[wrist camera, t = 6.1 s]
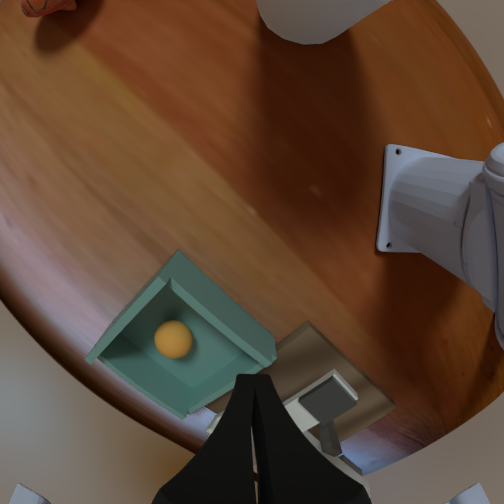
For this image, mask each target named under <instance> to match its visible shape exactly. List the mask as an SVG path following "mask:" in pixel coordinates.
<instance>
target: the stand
mask: <svg viewBox="0 0 504 504" xmlns="http://www.w3.org/2000/svg"><path fill="white" fill-rule="evenodd" d="M275 348H276V355H277V359H276V360H275V361H273V362H272V364H271V365H269V366H268V367H264V368H263V369H262V370H260V371H259V372H257V373H256V374H269V375H270V376H271V379H272V382H273V384H274V387H275V389H276V391H277V393H278V395H279V397H280V399H281V401H282V402H284V401H286V400H287V399H289V398H291V397H292V396H294V395H295V394H297V393H299V392H300V391H302V390H303V389H305V388H306V387H308V386H309V385H311V384H312V383H314V382H315V381H317V380H318V379H320V378H321V377H323V376H324V375H326V374H327V373H329V372H330V371H331V370H333V369H335V370H336V371H337V372H338V373H339V374H340V375H341V376H342V377H343V378H344V380H345V381H346V382H347V383H348V384H349V385H350V386H351V387H352V388H353V389H354V391H355V392H356V393H357V395H358V399H357V400H356V403H357V405H356V406H354V407H353V408H351V409H350V410H348V411H346V412H345V413H343V414H342V415H340V416H338V417H337V418H335V419H333V420H332V421H330V422H328V423H327V424H325V425H322V424H321V423H319V424H317V425H315V426H313V427H311V428H310V429H308V430H307V431H308V432H309V433H311V434H312V435H313V436H314V437H315V438H316V439H317V440H318V441H320V442H321V443H322V446H323V451H324V453H326V454H328V455H331V456H333V457H336V456H338V455H339V454H341V453H342V450H341V446H340V442H341V441H343V440H345V439H347V438H349V437H350V436H352V435H354V434H356V433H357V432H359V431H361V430H362V429H364V428H366V427H367V426H369V425H370V424H372V423H374V422H375V421H377V420H378V419H380V418H381V417H383V416H384V415H386V414H387V413H389V412H390V411H392V410H393V409H395V408H396V405H395V403H394V401H393V400H392V399H390V398H389V397H388V396H387V395H386V394H385V393H384V392H383V391H382V390H381V389H380V388H379V387H378V386H377V385H376V384H374V383H373V382H372V381H371V380H370V379H369V378H368V377H367V376H366V375H365V374H364V373H363V372H362V371H361V370H360V369H359V368H357V367H356V366H355V365H354V364H353V363H352V362H351V361H350V360H349V359H348V358H347V357H346V356H345V355H344V354H343V353H342V352H341V351H339V350H338V349H337V348H336V347H335V346H334V345H333V344H332V343H331V342H330V341H329V340H328V339H327V338H326V337H325V336H324V335H323V334H322V333H321V332H320V331H318V330H317V329H316V328H315V327H314V326H313V325H312V324H311V323H310V322H309V321H306V322H305V323H304V324H303V325H301V326H300V327H299V328H297V329H296V330H295V331H294V332H292V333H291V334H290V335H288V336H287V337H286V338H284V339H283V340H282V341H280V342H279V343H278V344H276V345H275ZM233 389H234V388H233ZM233 389H231V390H230V391H228V392H226V393H225V394H223V395H222V396H220V397H218V398H217V399H215V400H213V401H212V402H210V403H208V404H207V405H205V407H206V408H208V409H210V410H211V411H213V412H215V413H216V414H219V413H221V412H222V411H224V410H225V409H226V406H227V404H228V402H229V399H230V397H231V394H232V392H233Z"/></svg>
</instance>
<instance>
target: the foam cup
mask: <svg viewBox="0 0 504 504" xmlns="http://www.w3.org/2000/svg"><path fill="white" fill-rule="evenodd" d="M389 1H391V0H256V2H257V6H258V11H259V12H260V16H261V18H262V19H263V21H264V23H265V24H266V26H267V28H268V29H270V30H271V31H273V32H274V33H276V34H277V35H279V36H280V37H281V38H283V39H285V40H289V41H292V42H296V43H299V44H303V45H305V44H323V43H325V42H327V41H329V40H331V39H333V38H335V37H337V36H338V35H340V34H341V33H343V32H344V31H346V30H347V29H348V28H350V27H351V26H353V25H354V24H355V23H357V22H358V21H360V20H361V19H363V18H364V17H366V16H367V15H369V14H370V13H372V12H373V11H375V10H377V9H378V8H380V7H381V6H383V5H384V4H386V3H388V2H389Z"/></svg>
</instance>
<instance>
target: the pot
mask: <svg viewBox="0 0 504 504" xmlns="http://www.w3.org/2000/svg"><path fill="white" fill-rule="evenodd" d="M76 7H77V4H76V3H75V0H21V8H22V11H23V13H24V14H25V15H26V16H27V17H39V16H43V15H47V14H50V13H52V12H54V11H57V10H68V11H72V10H75V9H76Z"/></svg>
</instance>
